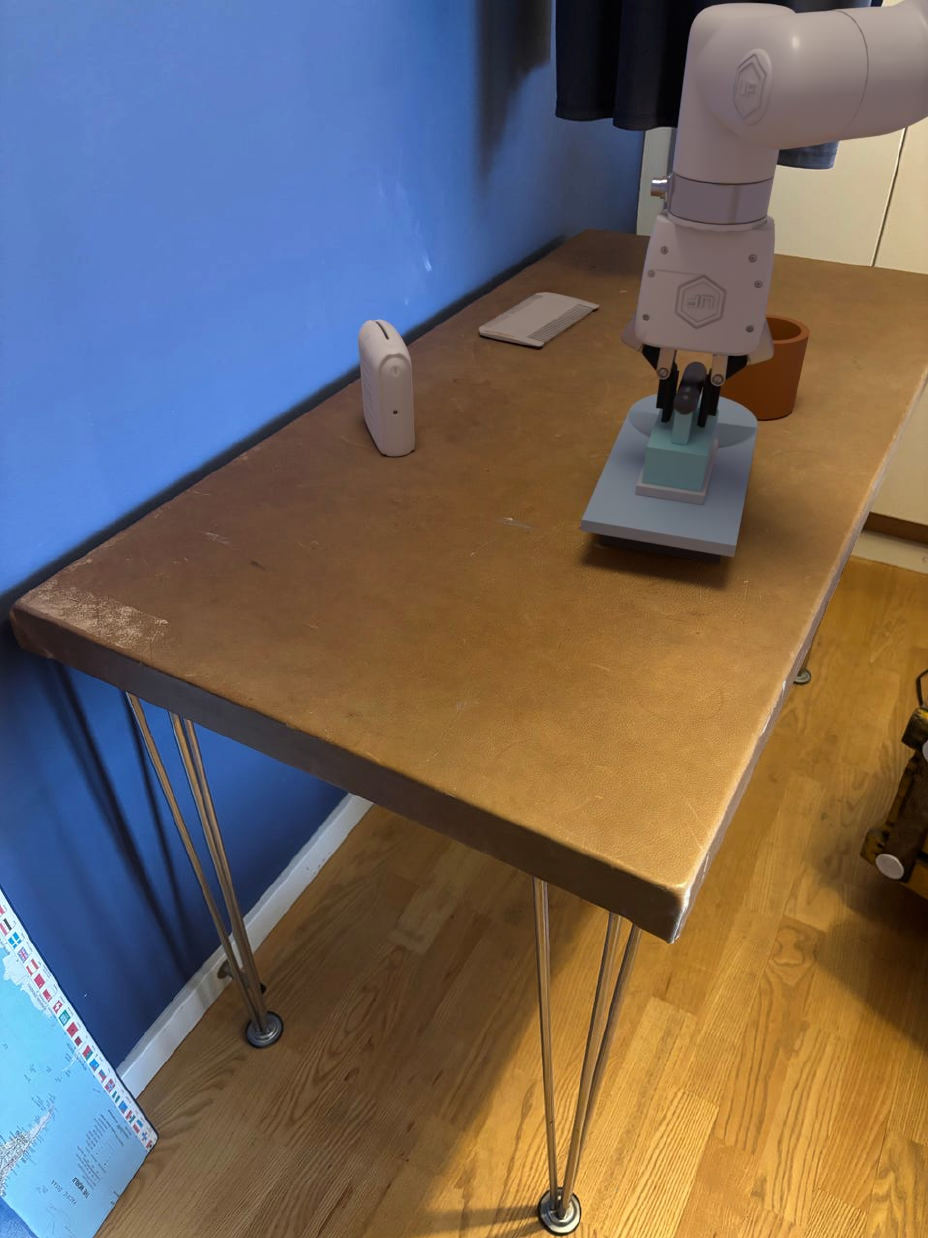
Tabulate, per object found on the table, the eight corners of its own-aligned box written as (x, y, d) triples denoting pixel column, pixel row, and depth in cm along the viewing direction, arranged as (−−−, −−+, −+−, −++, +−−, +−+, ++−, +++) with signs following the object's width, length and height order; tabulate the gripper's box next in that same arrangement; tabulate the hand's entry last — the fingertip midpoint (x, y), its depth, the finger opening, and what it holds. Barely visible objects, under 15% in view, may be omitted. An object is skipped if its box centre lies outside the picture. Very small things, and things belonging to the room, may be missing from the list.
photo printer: (420, 454, 98) (415, 342, 90) (381, 460, 97) (372, 347, 89) (397, 413, 105) (390, 307, 98) (360, 418, 104) (351, 311, 97)
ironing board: (754, 443, 99) (763, 400, 96) (726, 593, 78) (736, 545, 75) (635, 426, 102) (640, 384, 99) (577, 566, 81) (581, 519, 78)
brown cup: (810, 387, 110) (828, 313, 104) (780, 427, 102) (798, 349, 96) (737, 372, 113) (751, 299, 108) (703, 409, 105) (716, 333, 100)
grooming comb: (538, 349, 119) (538, 343, 118) (472, 334, 123) (472, 328, 123) (600, 307, 131) (601, 301, 131) (539, 294, 135) (539, 289, 135)
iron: (703, 505, 80) (720, 408, 74) (634, 494, 81) (646, 398, 75) (718, 445, 88) (734, 353, 82) (656, 436, 90) (668, 346, 84)
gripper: (604, 202, 69) (586, 424, 81) (828, 220, 65) (775, 451, 76) (623, 179, 75) (604, 390, 86) (830, 193, 70) (781, 413, 82)
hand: (685, 417), depth 81 cm, fingers closed
